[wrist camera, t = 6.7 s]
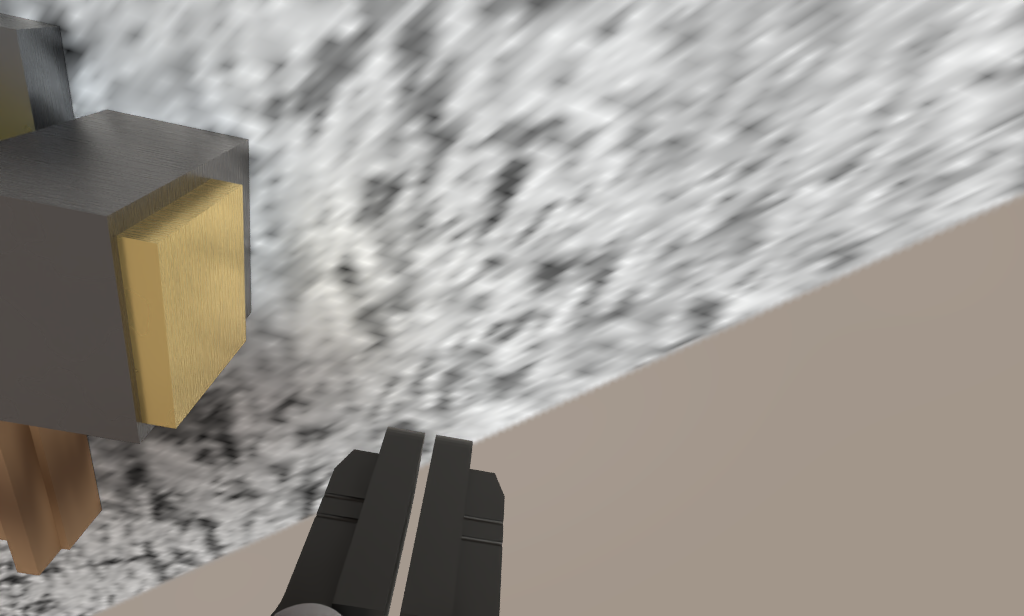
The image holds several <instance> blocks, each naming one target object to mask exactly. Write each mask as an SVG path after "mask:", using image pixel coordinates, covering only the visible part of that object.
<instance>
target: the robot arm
mask: <svg viewBox="0 0 1024 616" xmlns="http://www.w3.org/2000/svg"><path fill="white" fill-rule="evenodd" d="M424 438H425V433H422V432H416V431H410V430H405V429H399V428H393V427H388V428H387V431H386V433H385V437H384V440H383V443H382V446H381V449H380V452H379V454H378V453H372V452H366V451H360V450H353V451H352V452H351V453H350V454H349V455H348V456H347V457H346V458H345V459H344V460H343V461H342V462H341V463H340V464H339V465H338V466H336V467H335V469H334V471H333V474H332V476H331V479H330V481H329V484H328V486H327V489H326V491H325V496H324V497H323V499H322V501H321V504H320V506H319V509H318V512H317V516H316V517H315V519H314V522H313V524H312V527H311V529H310V532H309V534H308V537H307V539H306V542H305V545H304V547H303V549H302V552H301V555H300V557H299V559H298V562H297V564H296V567H295V570H294V572H293V574H292V577H291V579H290V582H289V584H288V587H287V589H286V592H285V594H284V596H283V598H282V601H281V602H280V604H279V605H278V607H277V608H276V610H275V611H274V612H273V613H272V614H271V616H388V614H389V609H390V605H391V600H392V596H393V591H394V587H395V581H396V577H397V573H398V569H399V564H400V559H401V555H402V550H403V546H404V541H405V537H406V532H407V528H408V523H409V519H410V513H411V509H412V504H413V499H414V494H415V488H416V483H417V478H418V472H419V466H420V461H421V455H422V450H423V444H424ZM472 444H473V442H472V441H469V440H463V439H457V438H451V437H446V436H440V435H436V439H435V443H434V448H433V453H432V458H431V463H430V469H429V474H428V478H427V483H426V488H425V494H424V498H423V503H422V508H421V513H420V518H419V523H418V528H417V533H416V538H415V543H414V548H413V553H412V558H411V563H410V567H409V572H408V578H407V582H406V587H405V592H404V598H403V602H402V607H401V612H400V616H499V610H500V587H501V564H502V542H503V519H504V494H503V492H502V490H501V487H500V485H499V482H498V480H497V478H496V475H495V473H490V472H484V471H479V470H473V469H470V462H471V453H472Z"/></svg>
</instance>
